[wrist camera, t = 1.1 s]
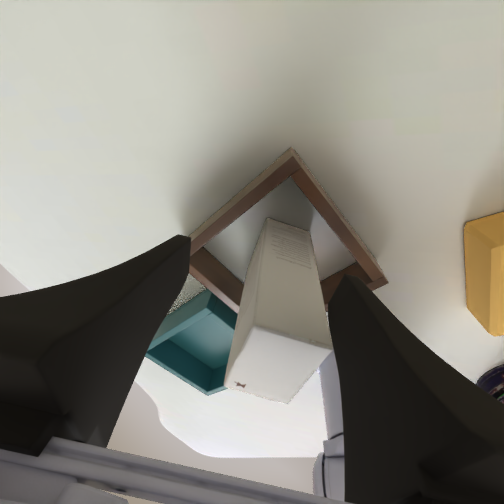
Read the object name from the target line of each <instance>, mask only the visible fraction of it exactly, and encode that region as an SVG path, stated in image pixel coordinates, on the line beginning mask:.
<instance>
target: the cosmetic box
mask: <svg viewBox="0 0 504 504" xmlns="http://www.w3.org/2000/svg"><path fill="white" fill-rule="evenodd" d="M332 350H333V346H332V341H331V336H330V331H329V326H328V321H327V316H326V311H325V306H324V300H323V295H322V290H321V285H320V280H319V275H318V270H317V265H316V260H315V255H314V250H313V245H312V240H311V235H310V232H308V231H306V230H302V229H299V228H296V227H293V226H290V225H287V224H284V223H281V222H278V221H275V220H272V219H269V218H267V219H266V221H265V224H264V226H263V229H262V231H261V234H260V237H259V239H258V242H257V245H256V247H255V250H254V253H253V255H252V258H251V261H250V263H249V266H248V269H247V274H246V278H245V283H244V288H243V293H242V298H241V303H240V307H239V312H238V317H237V322H236V326H235V331H234V336H233V340H232V345H231V350H230V354H229V358H228V364H227V368H226V374H225V379H224V386H225V387H227V388H230V389H234V390H237V391H241V392H245V393H248V394H252V395H255V396H258V397H262V398H265V399H269V400H272V401H276V402H281V403H285V404H288V403H289V402H290V401H291V400H292V399H293V397H294V396H295V395H296V394H297V392H298V391H299V390H300V389H301V388H302V386H303V385H304V384H305V383H306V382H307V380H308V379H309V378H310V377H311V375H312V374H313V373H314V372H315V371H316V369H317V368H318V367H319V366H320V365H321V363H322V362H323V361H324V360H325V358H326V357H327V356H328V355H329V354H330V353H331V352H332Z"/></svg>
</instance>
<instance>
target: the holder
mask: <svg viewBox="0 0 504 504" xmlns="http://www.w3.org/2000/svg"><path fill="white" fill-rule="evenodd" d="M289 176H291V178H292V179H293V180H294V182H295V183H296V184H297V185H298V187H299V188H300V189H301V190H302V192H303V193H304V194H305V196H306V197H307V198H308V199H309V201H310V202H311V203H312V204H313V206H314V207H315V208H316V210H317V211H318V212H319V213H320V215H321V216H322V217H323V218H324V220H325V221H326V222H327V224H328V225H329V226H330V227H331V229H332V230H333V231H334V232H335V234H336V235H337V236H338V237H339V239H340V240H341V241H342V243H343V244H344V245H345V246H346V248H347V249H348V250H349V251H350V253H351V254H352V255H353V257H354V258H355V259H356V260H357V263H355V264H353V265H351V266H349V267H347V268H345V269H344V270H342V271H340V272H338V273H336V274H334V275H332V276H330V277H328V278H327V279H325V280H323V281H321V282H320V285H321V290H322V295H323V300H324V306H325V311H326V312H327V311H328V303H329V301H330V299H331V298H332V296H333V294H334V292H335V290H336V288H337V287H338V285H339V283H340V281H341V279H342V277H343V276H344V274H348V275H353V276H357V277H358V278H359V279H361V280H362V281H363V282H364V284H365V285H366V286H367V287H368V288H369V289H370V290H371V291H373V290H375V289H377V288H379V287H382V286H384V285H386V284H388V280H387V279H386V277H385V275H384V273H383V271H382V269H381V268H380V266H379V264H378V262H377V260H376V259H375V258H374V256H373V255H372V254H371V252H370V251H369V250H368V248H367V247H366V246H365V244H364V243H363V242H362V240H361V239H360V237H359V236H358V235H357V233H356V232H355V231H354V229H353V228H352V227H351V225H350V224H349V223H348V221H347V220H346V219H345V217H344V216H343V215H342V213H341V212H340V211H339V209H338V208H337V207H336V205H335V204H334V203H333V201H332V200H331V198H330V197H329V196H328V194H327V193H326V192H325V190H324V189H323V188H322V186H321V185H320V184H319V182H318V181H317V180H316V178H315V177H314V176H313V174H312V173H311V172H310V170H309V169H308V168H307V166H306V165H305V164H304V162H303V161H302V159H301V158H300V157H299V155H298V154H297V153H296V151H295V150H294V149H293V147H291V148H290V149H289V150H287V151H286V152H285V153H284V154H283V155H282V156H280V157H279V158H278V159H277V160H276V161H275V162H274V163H272V164H271V165H270V166H269V167H268V168H267V169H265V170H264V171H263V172H262V173H261V174H260V175H259V176H257V177H256V178H255V179H254V180H253V181H252V182H250V183H249V184H248V185H247V186H246V187H245V188H244V189H242V190H241V191H240V192H239V193H238V194H237V195H236V196H234V197H233V198H232V199H231V200H230V201H229V202H227V203H226V204H225V205H224V206H223V207H222V208H221V209H219V210H218V211H217V212H216V213H215V214H214V215H212V216H211V217H210V218H209V219H208V220H207V221H206V222H204V223H203V224H202V225H201V226H200V227H199V228H198V229H196V230H195V231H194V232H193V233H192V234H191V235H189V236H188V237H191V251H190V266H189V273H190V274H191V275H192V276H193V277H194V278H196V279H197V280H198V281H199V282H200V283H202V284H203V285H204V286H205V287H206V288H207V289H209V290H210V291H211V292H212V293H213V294H215V295H216V296H217V297H218V298H219V299H221V300H222V301H223V302H224V303H225V304H226V305H228V306H229V307H230V308H231V309H232V310H234V311H235V312H236V313H237V314H238V312H239V307H240V303H241V298H242V293H243V288H244V284H243V283H242V282H241V281H240V280H238V279H237V278H236V277H235V276H234V275H233V274H232V273H231V272H230V271H229V270H228V269H226V268H225V267H224V266H223V265H222V264H221V263H220V262H219V261H218V260H217V259H216V258H214V257H213V256H212V255H211V254H210V253H209V252H208V251H207V250H206V249H205V248H204V247H202V246H204V245H205V244H206V243H207V242H208V241H210V240H211V239H212V238H213V237H215V236H216V235H217V234H218V233H220V232H221V231H222V230H223V229H225V228H226V227H227V226H228V225H230V224H231V223H232V222H233V221H235V220H236V219H237V218H238V217H240V216H241V215H242V214H243V213H245V212H246V211H247V210H248V209H249V208H251V207H252V206H253V205H254V204H256V203H257V202H258V201H259V200H261V199H262V198H263V197H264V196H266V195H267V194H268V193H269V192H271V191H272V190H273V189H274V188H276V187H277V186H278V185H279V184H281V183H282V182H283V181H284V180H285V179H287V178H288V177H289Z"/></svg>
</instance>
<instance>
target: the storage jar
mask: <svg viewBox="0 0 504 504" xmlns="http://www.w3.org/2000/svg"><path fill="white" fill-rule="evenodd" d="M476 385H477V386H478V387H480V388H481V389H483V390H484V391H485V392H487V393H488V394H490V395H491V396H493V397H494V398H496V399H497V400H499V401H500V402H502V403H503V404H504V365H501V366H499V367H496V368H494V369H492V370H490V371H489V372H487V373H485V374H484V375H483V376H482V377H481V378H480V379H479V380H478V382H477V384H476Z"/></svg>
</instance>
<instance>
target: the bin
mask: <svg viewBox="0 0 504 504" xmlns="http://www.w3.org/2000/svg"><path fill="white" fill-rule="evenodd" d="M237 317H238V314H237V313H236V312H235V311H234V310H232V309H231V308H230V307H229V306H228V305H226V304H225V303H224V302H223V301H222V300H221V299H219V298H218V297H217V296H216V295H215V294H213V293H212V292H211V291H210V290H209V289H206V290H204V291H203V292H201V293H200V294H198V295H197V296H196V297H194V298H193V299H191V300H190V301H188V302H187V303H185V304H184V305H182V306H181V307H179V308H178V309H176V310H175V311H173V312H172V313H170V314H169V315H167V316H166V317H165V318H164V320H163V322H162V323H161V325H160V327H159V328H158V330H157V332H156V334H155V336H154V338H153V340H152V342H151V344H150V346H149V348H148V350H147V352H146V355H145V357H147V358H148V359H150V360H152V361H153V362H155V363H156V364H158V365H159V366H161V367H163V368H164V369H166V370H167V371H169V372H170V373H172V374H174V375H175V376H177V377H178V378H180V379H182V380H183V381H185V382H186V383H188V384H189V385H191V386H193V387H194V388H196V389H197V390H199V391H201V392H202V393H204V394H205V395H207V396H209V395H212V394H214V393H217V392H220V391H222V390H225V389H228V388H227V387H225V386H224V379H225V374H226V368H227V364H228V358H229V354H230V350H231V345H232V340H233V336H234V331H235V326H236V322H237Z"/></svg>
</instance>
